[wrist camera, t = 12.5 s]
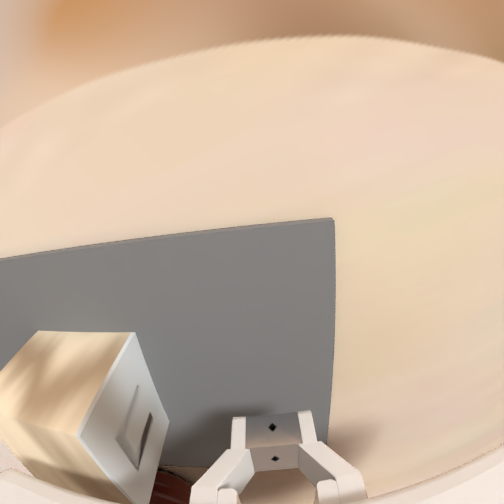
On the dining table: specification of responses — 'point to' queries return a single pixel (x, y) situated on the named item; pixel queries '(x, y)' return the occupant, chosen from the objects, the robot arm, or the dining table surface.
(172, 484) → the mug
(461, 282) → the dining table surface
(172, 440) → the mat
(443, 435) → the dining table surface
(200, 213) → the dining table surface
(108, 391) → the letter block
